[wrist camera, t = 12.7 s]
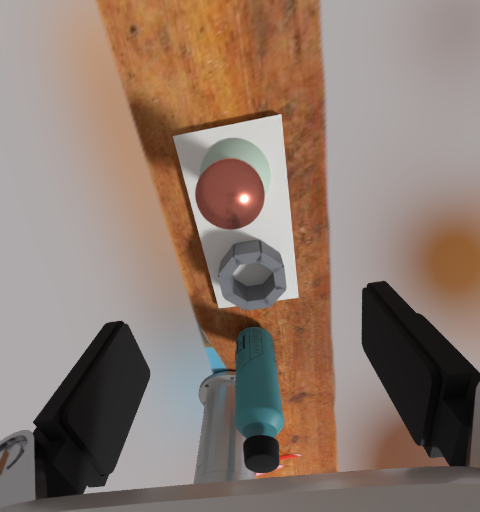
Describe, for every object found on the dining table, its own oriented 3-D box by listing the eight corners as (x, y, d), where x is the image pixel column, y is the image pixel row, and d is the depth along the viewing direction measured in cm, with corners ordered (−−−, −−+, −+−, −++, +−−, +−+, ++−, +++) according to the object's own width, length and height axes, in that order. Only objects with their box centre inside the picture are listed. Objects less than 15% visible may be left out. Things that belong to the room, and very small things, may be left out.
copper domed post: (262, 154, 31) (269, 164, 22) (255, 205, 34) (259, 232, 25) (210, 148, 31) (196, 156, 22) (207, 200, 34) (194, 226, 25)
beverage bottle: (242, 315, 44) (240, 444, 26) (278, 324, 45) (301, 456, 27) (231, 342, 47) (223, 475, 29) (265, 350, 47) (278, 485, 29)
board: (297, 293, 42) (303, 313, 37) (219, 304, 43) (216, 325, 38) (280, 114, 30) (286, 112, 26) (174, 135, 32) (163, 137, 27)
